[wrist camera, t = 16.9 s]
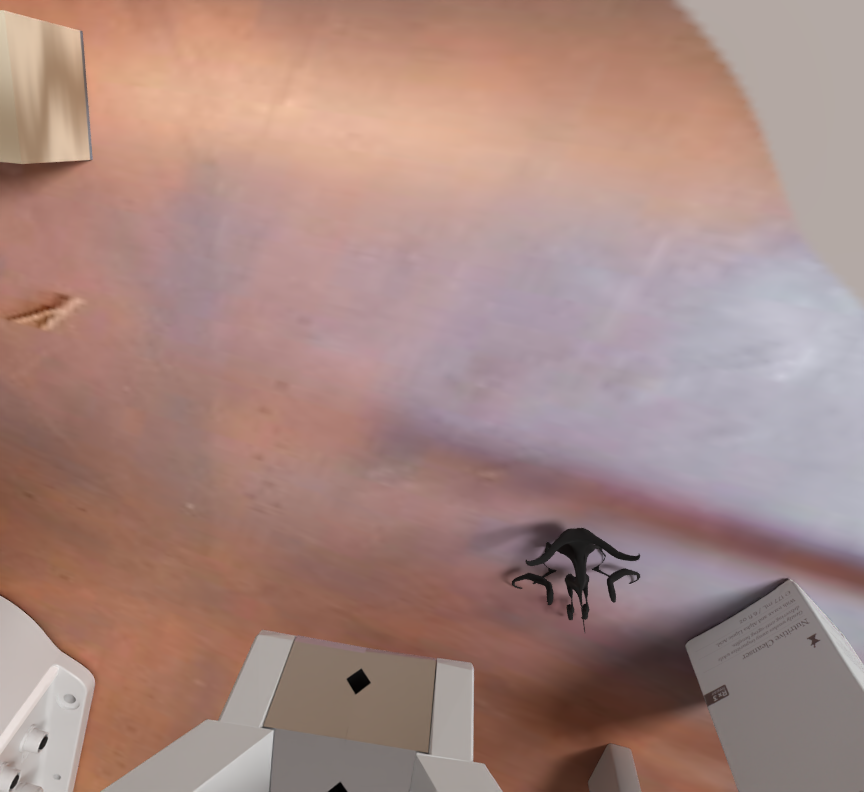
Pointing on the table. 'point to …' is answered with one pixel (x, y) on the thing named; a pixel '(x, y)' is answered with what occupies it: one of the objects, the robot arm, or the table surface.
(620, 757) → the lighter
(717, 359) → the table surface
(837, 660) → the skincare box
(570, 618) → the creature
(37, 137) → the maple cube
